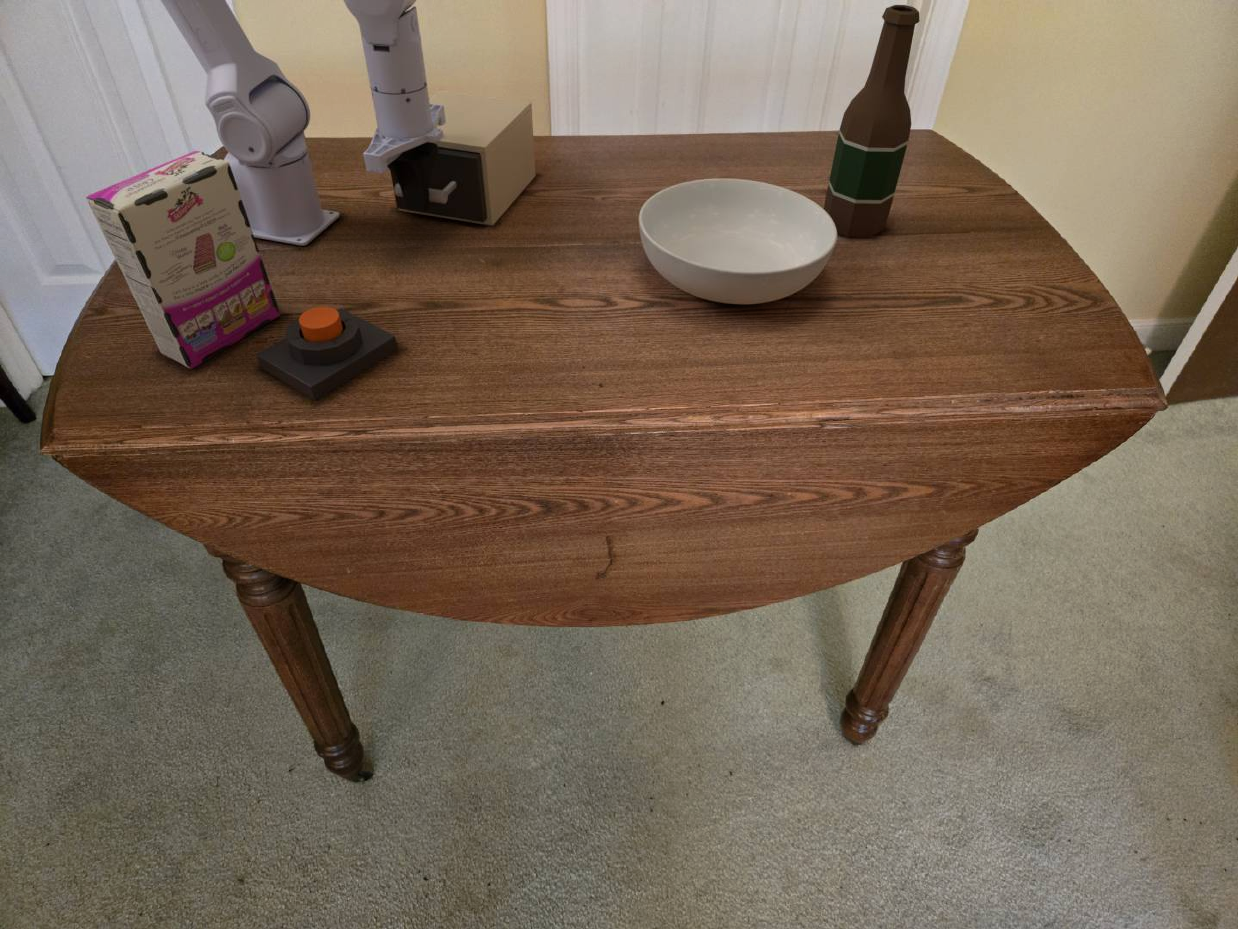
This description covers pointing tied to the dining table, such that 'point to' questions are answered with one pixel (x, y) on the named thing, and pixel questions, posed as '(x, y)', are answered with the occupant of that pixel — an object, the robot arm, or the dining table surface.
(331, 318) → the button
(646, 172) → the dining table surface
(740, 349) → the dining table surface
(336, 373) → the control block
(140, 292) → the candy bar box
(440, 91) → the cabinet
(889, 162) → the beer bottle
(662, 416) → the dining table surface
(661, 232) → the serving bowl
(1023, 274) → the dining table surface
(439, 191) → the drawer
